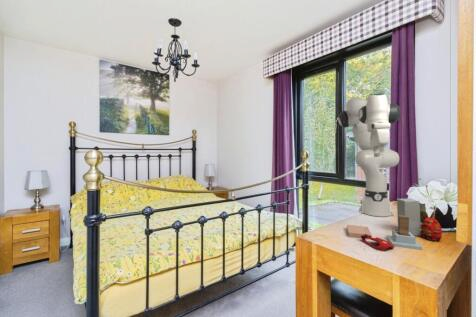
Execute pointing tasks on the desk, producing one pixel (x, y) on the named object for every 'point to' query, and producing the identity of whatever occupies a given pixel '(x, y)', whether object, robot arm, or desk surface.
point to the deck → (357, 231)
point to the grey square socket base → (403, 241)
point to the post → (403, 225)
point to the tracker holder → (383, 243)
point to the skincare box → (410, 214)
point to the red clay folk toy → (431, 228)
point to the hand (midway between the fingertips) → (378, 156)
